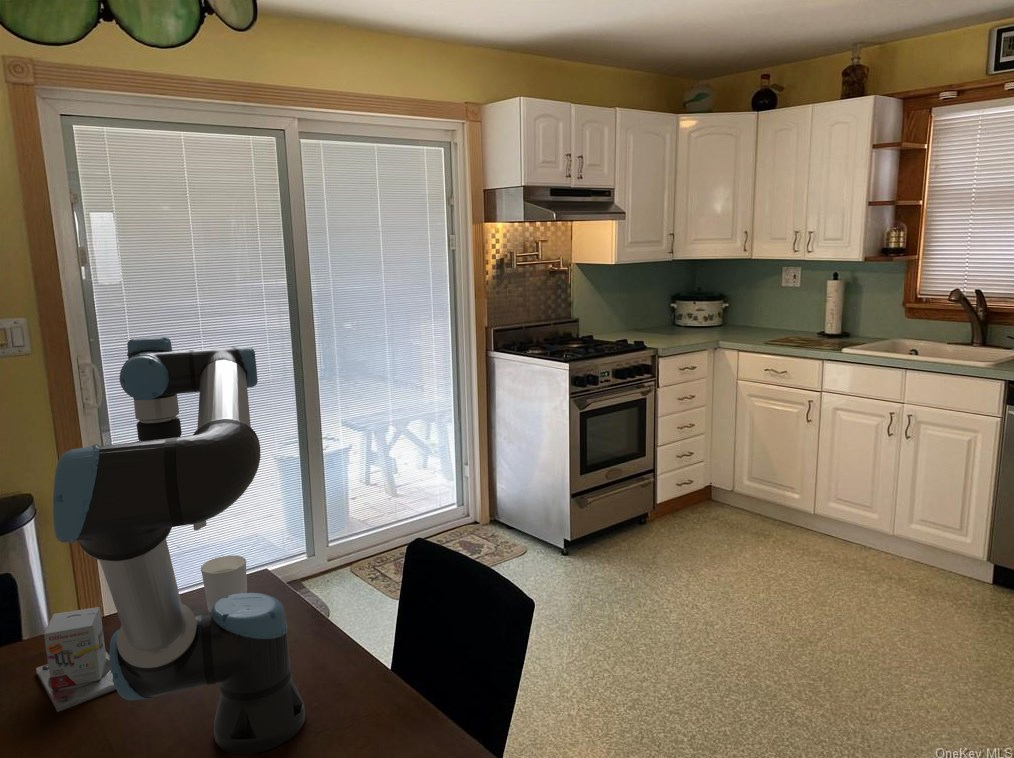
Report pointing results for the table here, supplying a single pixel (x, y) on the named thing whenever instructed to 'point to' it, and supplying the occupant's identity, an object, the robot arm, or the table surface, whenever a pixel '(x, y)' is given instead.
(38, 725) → the table surface
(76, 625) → the ink box
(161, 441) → the robot arm
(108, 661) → the flange
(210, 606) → the candle holder
